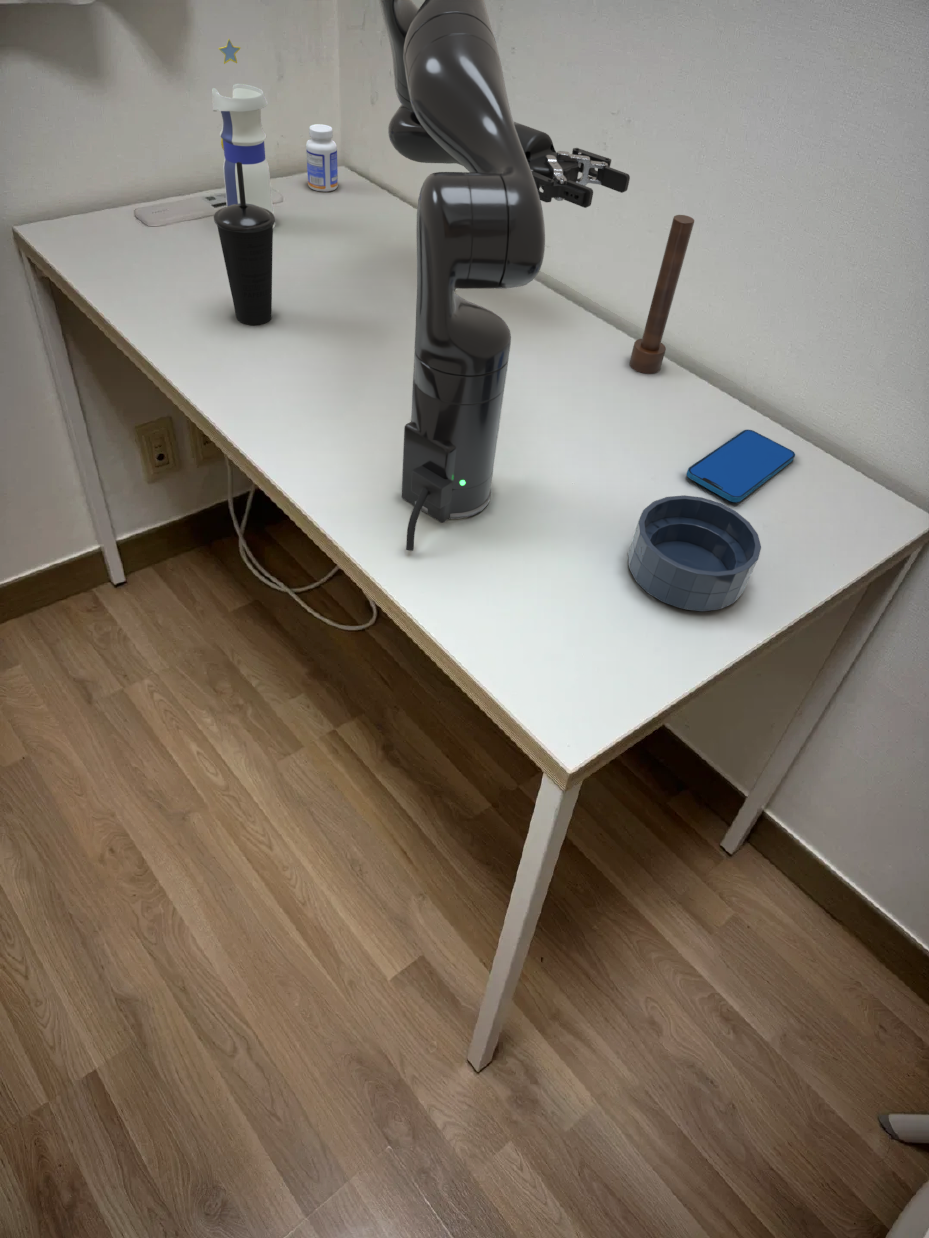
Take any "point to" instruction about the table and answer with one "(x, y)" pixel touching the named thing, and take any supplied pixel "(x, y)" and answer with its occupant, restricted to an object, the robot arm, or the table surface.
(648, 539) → the bowl
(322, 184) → the pill bottle
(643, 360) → the muddler
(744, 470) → the smartphone
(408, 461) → the robot arm
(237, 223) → the drinking cup
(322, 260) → the table surface
